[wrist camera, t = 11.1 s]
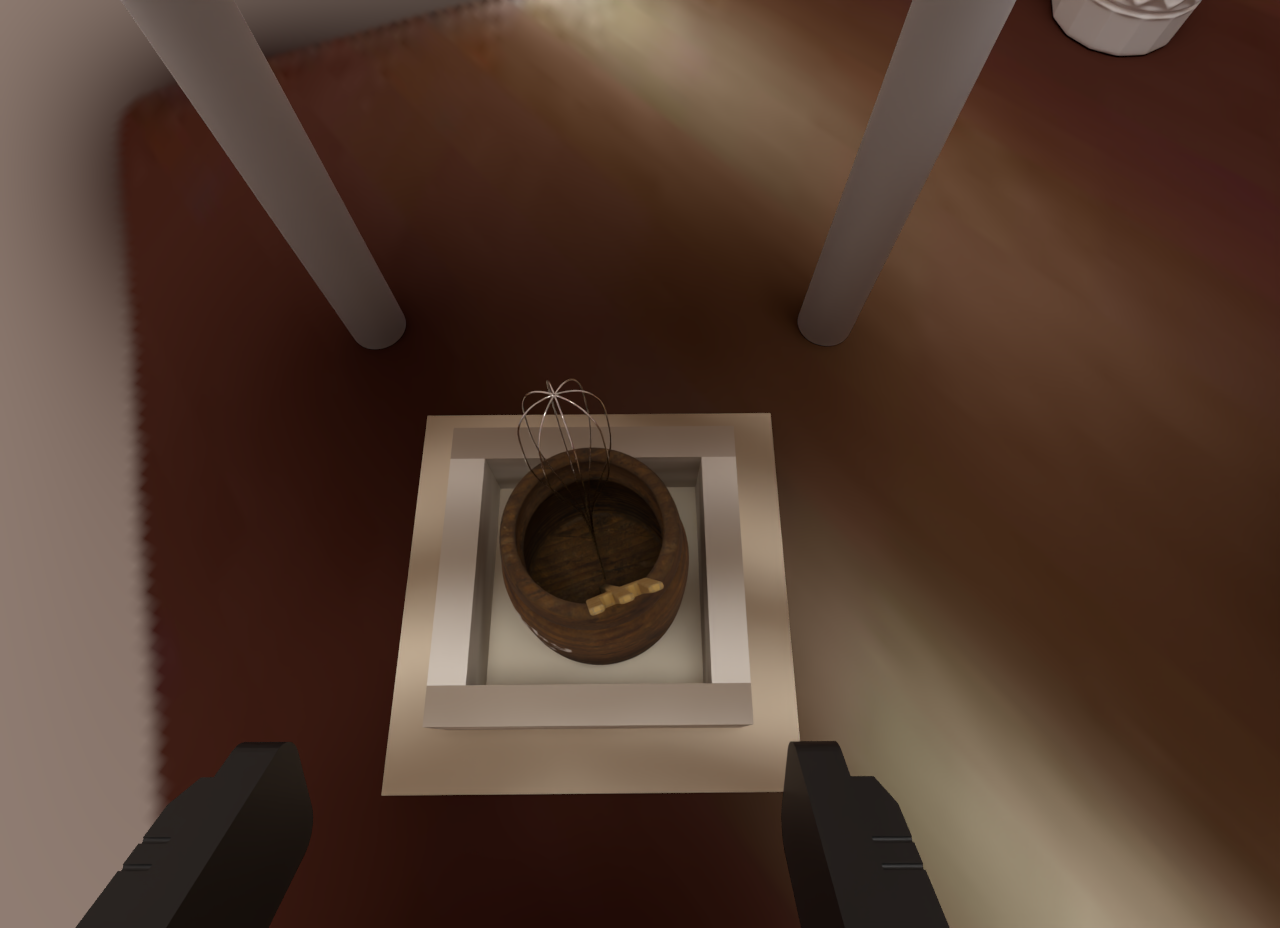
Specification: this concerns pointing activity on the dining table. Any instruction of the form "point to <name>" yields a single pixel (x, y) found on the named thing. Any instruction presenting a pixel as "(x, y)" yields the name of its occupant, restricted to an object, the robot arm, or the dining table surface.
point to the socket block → (583, 693)
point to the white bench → (347, 273)
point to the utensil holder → (593, 550)
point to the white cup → (1122, 23)
